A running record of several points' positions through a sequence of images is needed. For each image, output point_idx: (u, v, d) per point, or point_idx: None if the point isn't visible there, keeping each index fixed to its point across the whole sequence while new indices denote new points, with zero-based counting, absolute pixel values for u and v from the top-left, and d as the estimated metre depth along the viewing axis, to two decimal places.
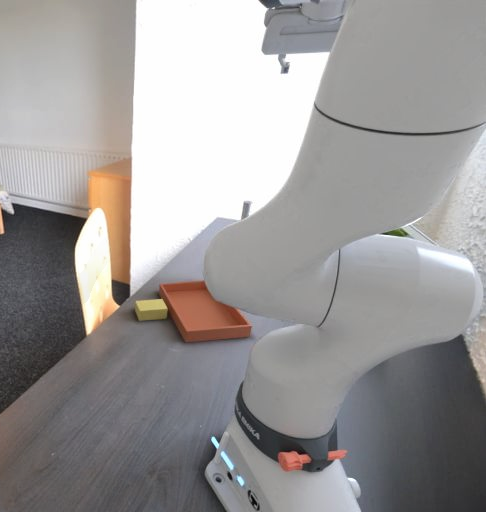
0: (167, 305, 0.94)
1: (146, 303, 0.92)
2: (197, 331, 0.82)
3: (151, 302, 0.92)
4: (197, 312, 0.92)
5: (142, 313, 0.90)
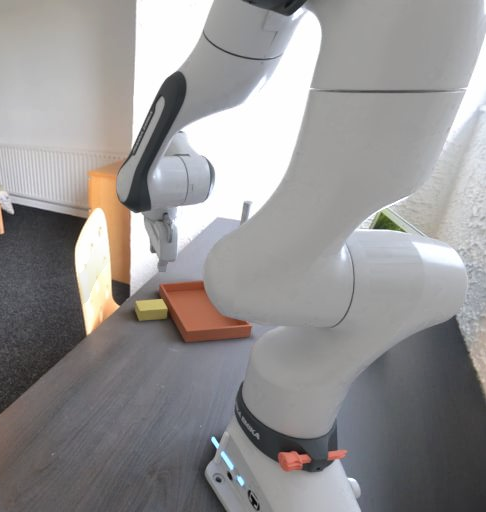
0: (167, 305, 0.94)
1: (146, 303, 0.92)
2: (197, 331, 0.82)
3: (151, 302, 0.92)
4: (197, 312, 0.92)
5: (142, 313, 0.90)
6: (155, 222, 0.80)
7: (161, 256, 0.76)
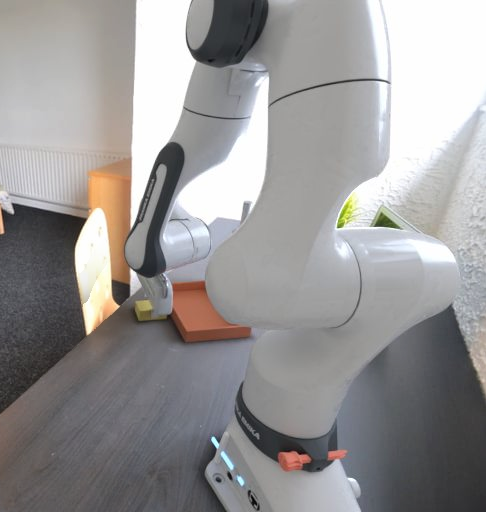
0: None
1: (146, 303, 0.92)
2: (197, 331, 0.82)
3: None
4: (197, 312, 0.92)
5: (142, 313, 0.90)
6: None
7: (157, 311, 0.80)
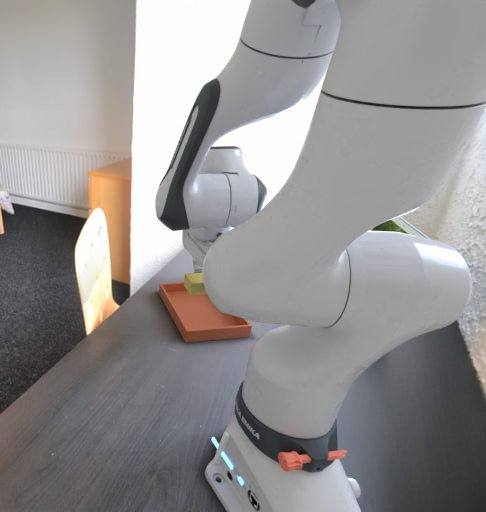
0: (167, 305, 0.94)
1: (197, 276, 0.82)
2: (197, 331, 0.82)
3: None
4: (197, 312, 0.92)
5: (194, 286, 0.80)
6: (206, 243, 0.74)
7: None
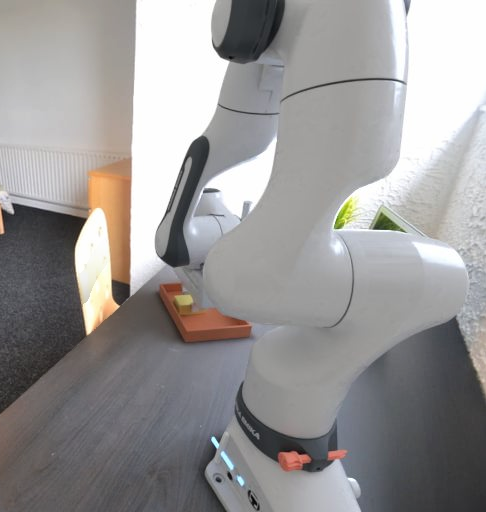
0: (167, 305, 0.94)
1: (185, 298, 0.93)
2: (197, 331, 0.82)
3: (190, 297, 0.93)
4: None
5: (182, 307, 0.90)
6: (192, 271, 0.85)
7: (202, 305, 0.81)
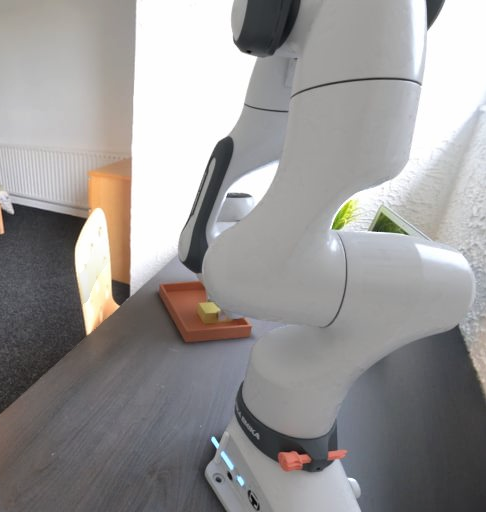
0: (167, 305, 0.94)
1: (210, 305, 0.89)
2: (197, 331, 0.82)
3: None
4: None
5: (207, 315, 0.87)
6: None
7: (232, 314, 0.78)
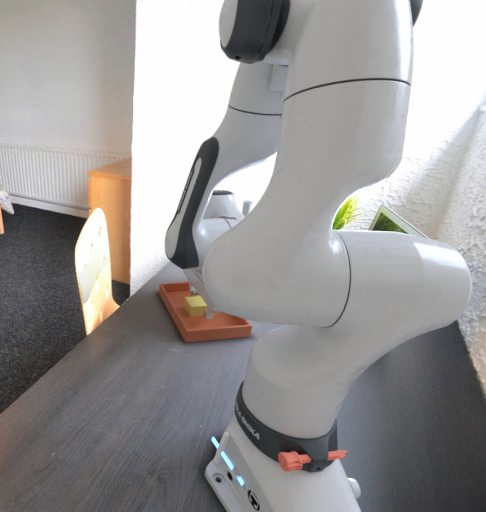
0: (167, 305, 0.94)
1: (196, 299, 0.92)
2: (197, 331, 0.82)
3: (201, 298, 0.92)
4: None
5: (193, 309, 0.89)
6: None
7: (214, 308, 0.80)
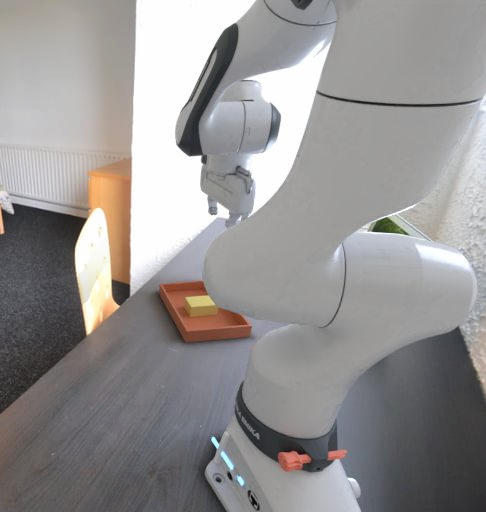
0: (167, 305, 0.94)
1: (196, 299, 0.92)
2: (197, 331, 0.82)
3: (201, 298, 0.92)
4: None
5: (193, 309, 0.89)
6: (226, 177, 0.79)
7: (238, 208, 0.75)
